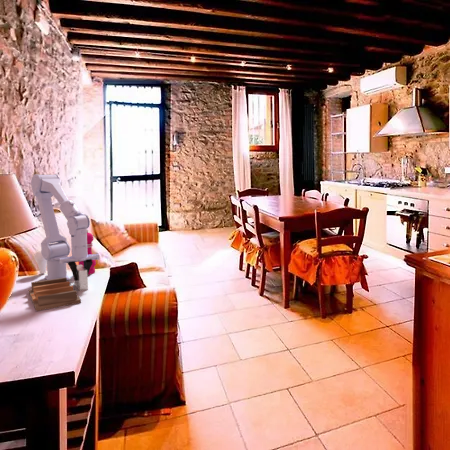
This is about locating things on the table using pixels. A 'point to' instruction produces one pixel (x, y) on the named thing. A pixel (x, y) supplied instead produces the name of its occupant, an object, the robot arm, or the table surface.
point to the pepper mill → (89, 252)
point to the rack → (53, 294)
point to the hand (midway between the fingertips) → (80, 279)
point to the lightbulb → (40, 262)
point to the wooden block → (81, 278)
